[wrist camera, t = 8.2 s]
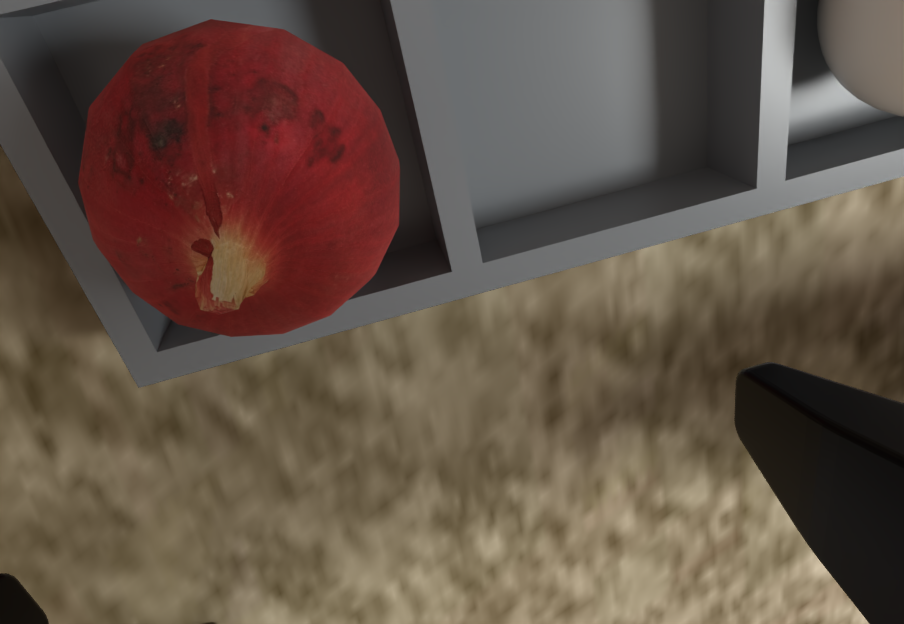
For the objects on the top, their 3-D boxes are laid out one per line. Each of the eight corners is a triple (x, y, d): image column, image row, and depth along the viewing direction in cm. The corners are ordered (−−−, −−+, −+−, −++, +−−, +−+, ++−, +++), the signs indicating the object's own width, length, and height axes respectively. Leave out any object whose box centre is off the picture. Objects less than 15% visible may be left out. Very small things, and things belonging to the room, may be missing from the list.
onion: (88, 70, 14) (-153, 145, 7) (325, -23, 14) (332, -42, 7) (217, 285, 17) (143, 495, 10) (414, 208, 17) (482, 360, 10)
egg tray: (1011, -245, 15) (1181, -305, 12) (944, 112, 20) (1057, 133, 17) (-1, -16, 14) (-94, -20, 11) (169, 321, 18) (138, 387, 15)
